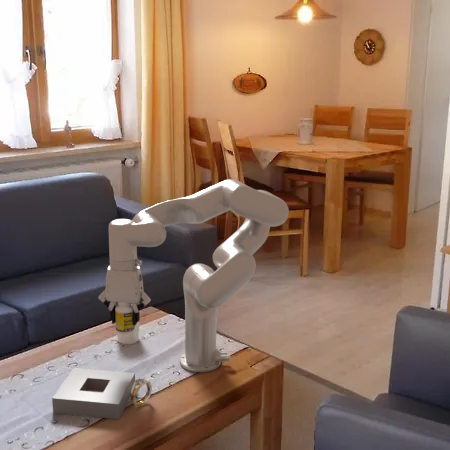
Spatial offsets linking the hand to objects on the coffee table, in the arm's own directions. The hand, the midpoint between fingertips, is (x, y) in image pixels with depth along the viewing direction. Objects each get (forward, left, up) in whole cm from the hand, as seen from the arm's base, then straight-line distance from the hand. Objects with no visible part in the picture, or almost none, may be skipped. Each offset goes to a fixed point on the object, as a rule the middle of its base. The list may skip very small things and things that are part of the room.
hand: (125, 322), depth 181 cm
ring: (-8, +14, -18) cm, 24 cm away
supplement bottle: (0, 0, -3) cm, 3 cm away
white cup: (+6, -22, -18) cm, 29 cm away
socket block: (+5, +14, -17) cm, 23 cm away
